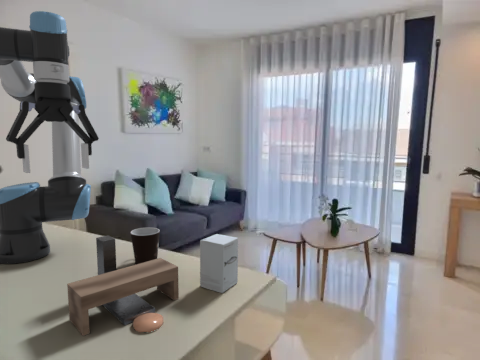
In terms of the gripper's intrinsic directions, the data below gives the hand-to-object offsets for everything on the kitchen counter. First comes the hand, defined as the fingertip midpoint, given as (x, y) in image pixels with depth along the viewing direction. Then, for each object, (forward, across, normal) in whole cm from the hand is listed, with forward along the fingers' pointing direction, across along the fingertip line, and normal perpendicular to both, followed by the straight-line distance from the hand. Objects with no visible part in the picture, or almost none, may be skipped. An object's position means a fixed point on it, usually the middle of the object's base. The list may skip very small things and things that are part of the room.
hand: (58, 170), depth 84 cm
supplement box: (+30, +28, -30) cm, 51 cm away
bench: (+29, +5, -24) cm, 38 cm away
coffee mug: (+30, +24, -2) cm, 39 cm away
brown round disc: (+29, +5, -33) cm, 45 cm away
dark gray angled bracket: (+29, +5, -21) cm, 37 cm away
